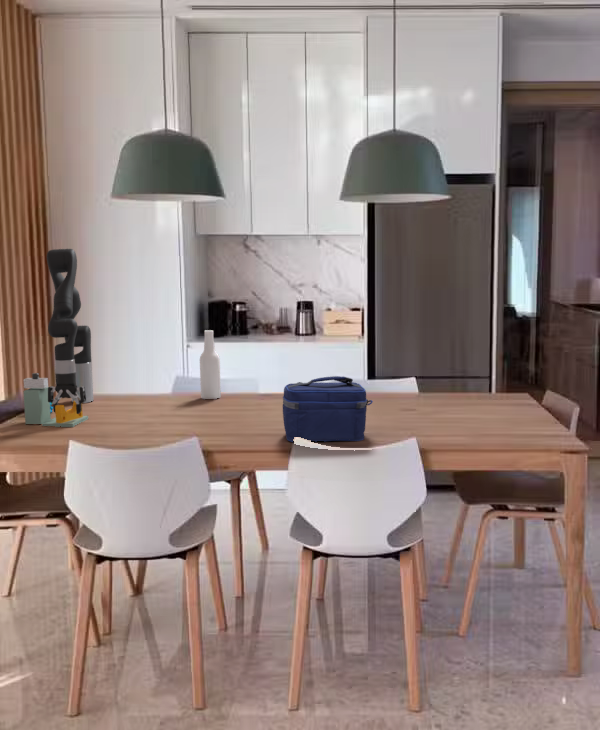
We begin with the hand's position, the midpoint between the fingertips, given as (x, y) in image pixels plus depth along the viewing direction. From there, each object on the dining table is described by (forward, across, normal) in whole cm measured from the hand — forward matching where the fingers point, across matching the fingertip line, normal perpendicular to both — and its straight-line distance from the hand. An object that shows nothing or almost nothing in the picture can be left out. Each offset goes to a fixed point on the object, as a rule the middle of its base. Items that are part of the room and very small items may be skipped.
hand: (67, 413), depth 305 cm
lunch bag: (+4, -100, +17) cm, 101 cm away
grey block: (-10, +12, 0) cm, 16 cm away
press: (+4, +5, 0) cm, 6 cm away
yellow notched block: (+3, 0, 0) cm, 3 cm away
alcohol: (+4, -43, -54) cm, 69 cm away
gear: (+4, +18, -18) cm, 25 cm away
